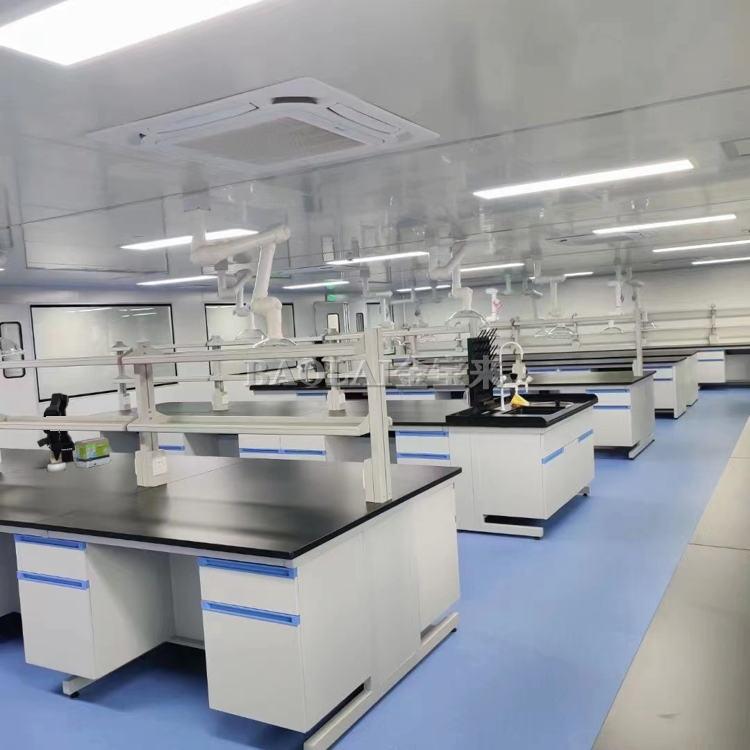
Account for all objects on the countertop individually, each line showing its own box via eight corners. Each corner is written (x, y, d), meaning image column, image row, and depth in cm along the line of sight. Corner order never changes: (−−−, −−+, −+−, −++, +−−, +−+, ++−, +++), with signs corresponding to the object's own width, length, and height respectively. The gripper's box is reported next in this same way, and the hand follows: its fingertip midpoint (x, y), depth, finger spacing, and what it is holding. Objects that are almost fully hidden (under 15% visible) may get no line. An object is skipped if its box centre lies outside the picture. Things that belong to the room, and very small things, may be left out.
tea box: (87, 468, 368) (85, 442, 367) (76, 467, 374) (74, 441, 373) (110, 463, 381) (108, 437, 380) (99, 462, 386) (97, 436, 385)
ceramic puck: (64, 468, 373) (64, 461, 373) (67, 470, 366) (66, 463, 365) (47, 471, 368) (46, 463, 368) (49, 473, 361) (48, 466, 361)
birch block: (60, 460, 370) (59, 449, 370) (61, 461, 366) (60, 450, 366) (50, 461, 367) (49, 451, 367) (51, 463, 363) (50, 452, 363)
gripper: (35, 432, 369) (37, 459, 370) (39, 435, 353) (42, 464, 354) (57, 429, 375) (59, 456, 376) (62, 432, 359) (64, 461, 361)
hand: (56, 459), depth 367 cm, fingers closed on birch block, 5 cm apart
